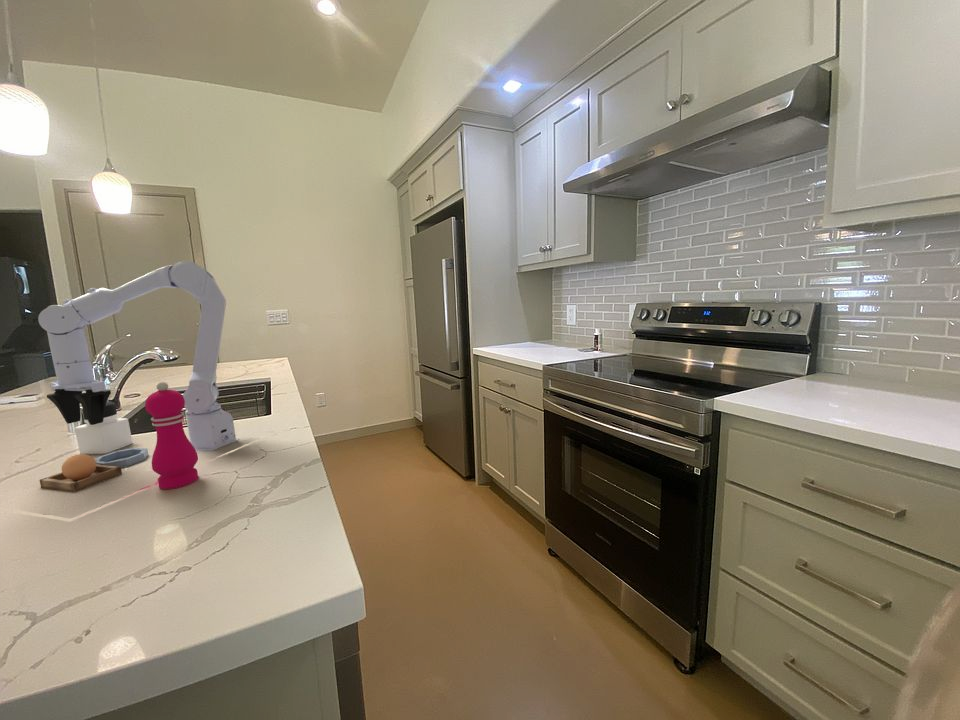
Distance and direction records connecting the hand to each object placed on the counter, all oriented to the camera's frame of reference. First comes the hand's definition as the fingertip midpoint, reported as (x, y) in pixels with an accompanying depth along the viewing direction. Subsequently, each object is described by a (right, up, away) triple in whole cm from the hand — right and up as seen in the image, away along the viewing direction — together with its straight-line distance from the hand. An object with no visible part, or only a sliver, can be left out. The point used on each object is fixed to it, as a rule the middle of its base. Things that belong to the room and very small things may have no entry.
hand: (85, 422), depth 91 cm
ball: (+7, -10, -8) cm, 14 cm away
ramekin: (+7, -9, +2) cm, 12 cm away
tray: (+7, -11, -8) cm, 15 cm away
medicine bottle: (-6, -9, +12) cm, 16 cm away
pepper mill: (+28, -10, -10) cm, 32 cm away
